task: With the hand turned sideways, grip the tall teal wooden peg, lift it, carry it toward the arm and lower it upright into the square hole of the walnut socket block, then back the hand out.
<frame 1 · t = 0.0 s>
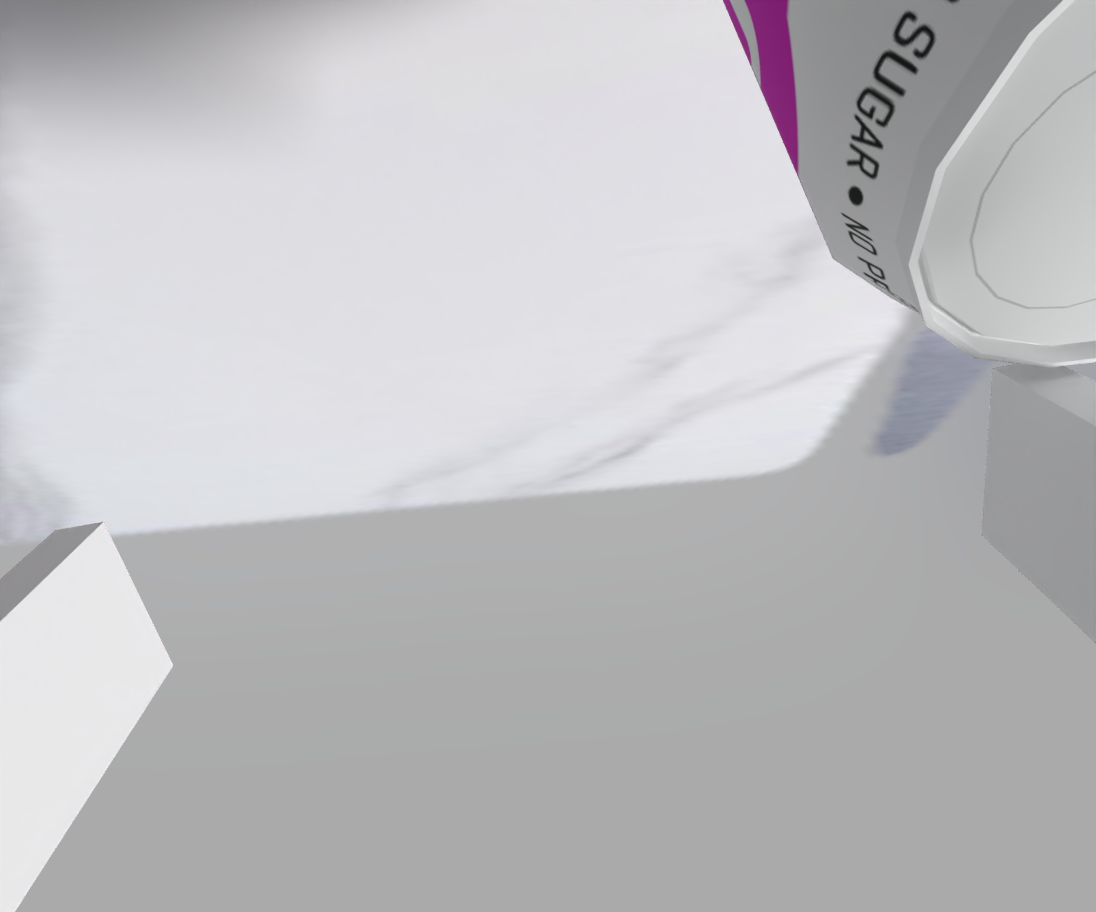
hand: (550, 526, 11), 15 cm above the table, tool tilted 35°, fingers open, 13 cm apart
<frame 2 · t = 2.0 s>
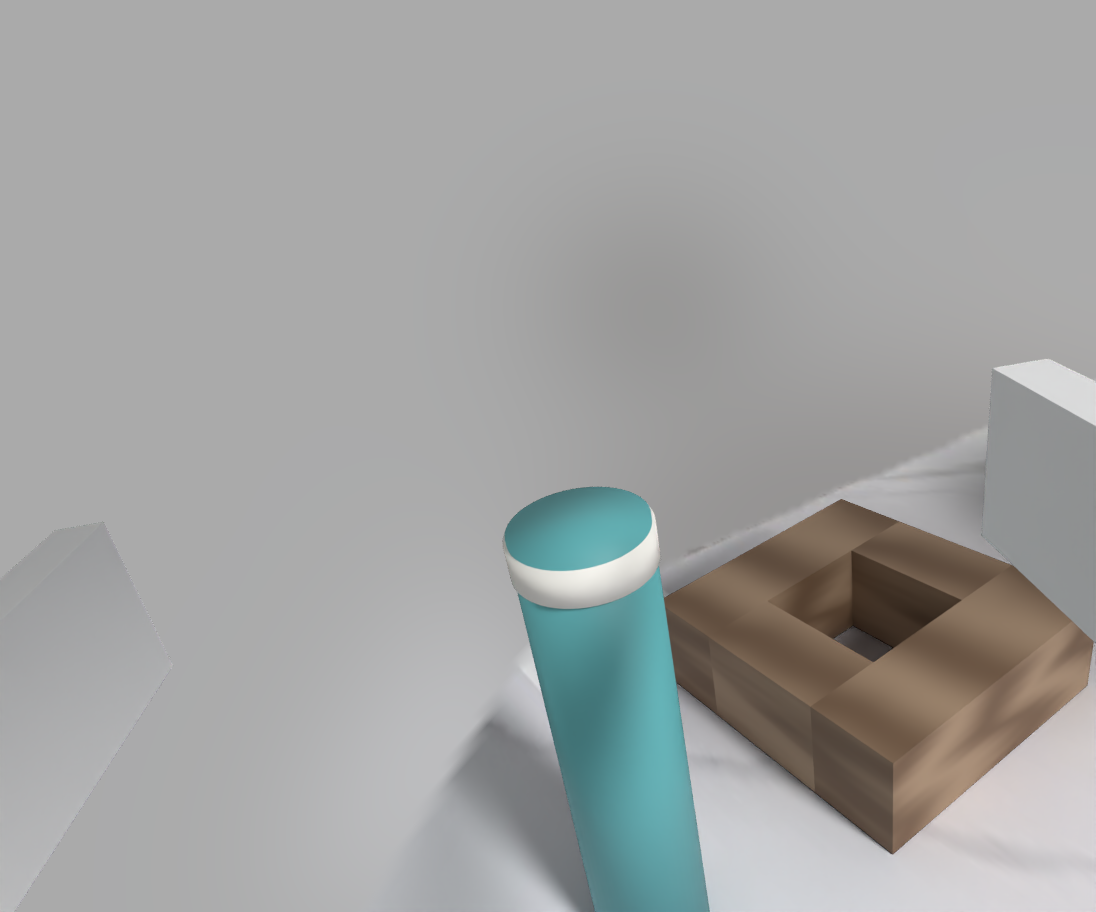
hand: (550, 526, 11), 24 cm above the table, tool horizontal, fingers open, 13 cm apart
socket block: (862, 680, 39), on the table
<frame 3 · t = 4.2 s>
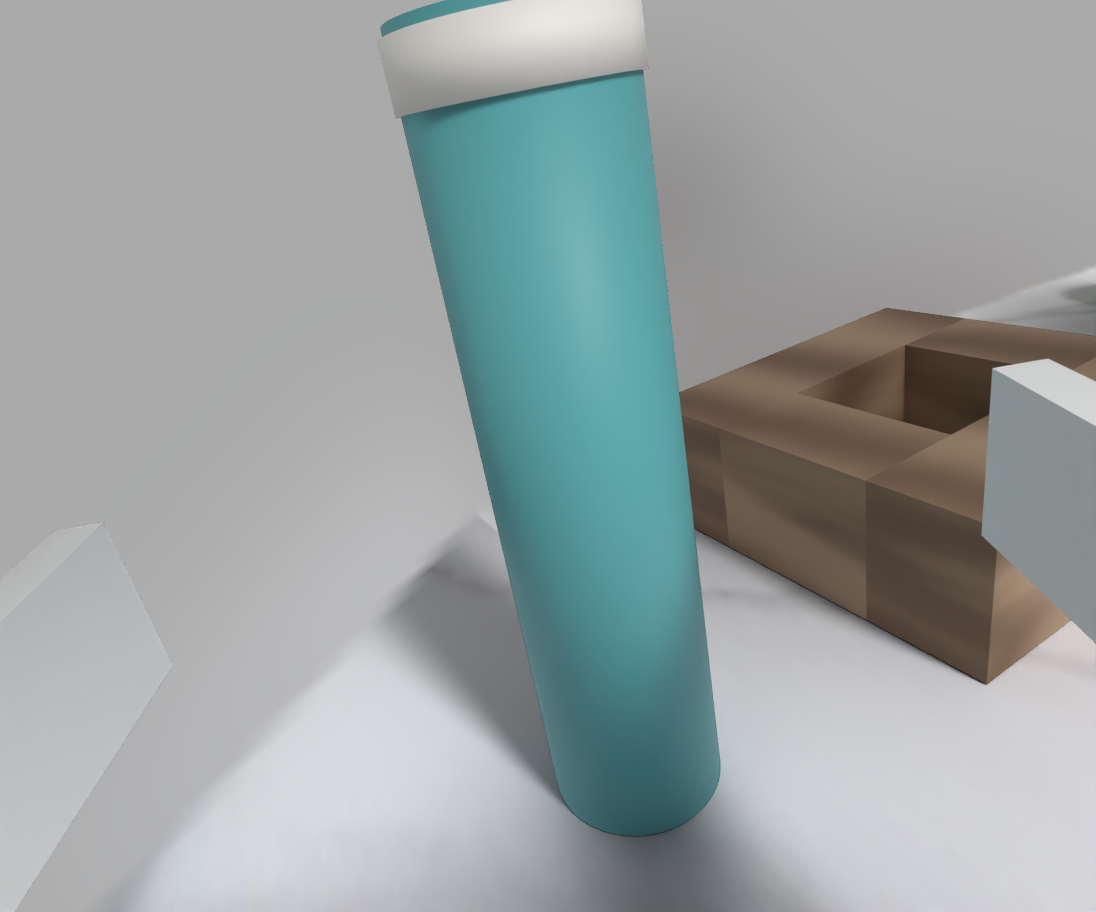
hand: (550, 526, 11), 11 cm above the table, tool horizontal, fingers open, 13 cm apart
socket block: (921, 504, 29), on the table
peg: (637, 764, 21), on the table
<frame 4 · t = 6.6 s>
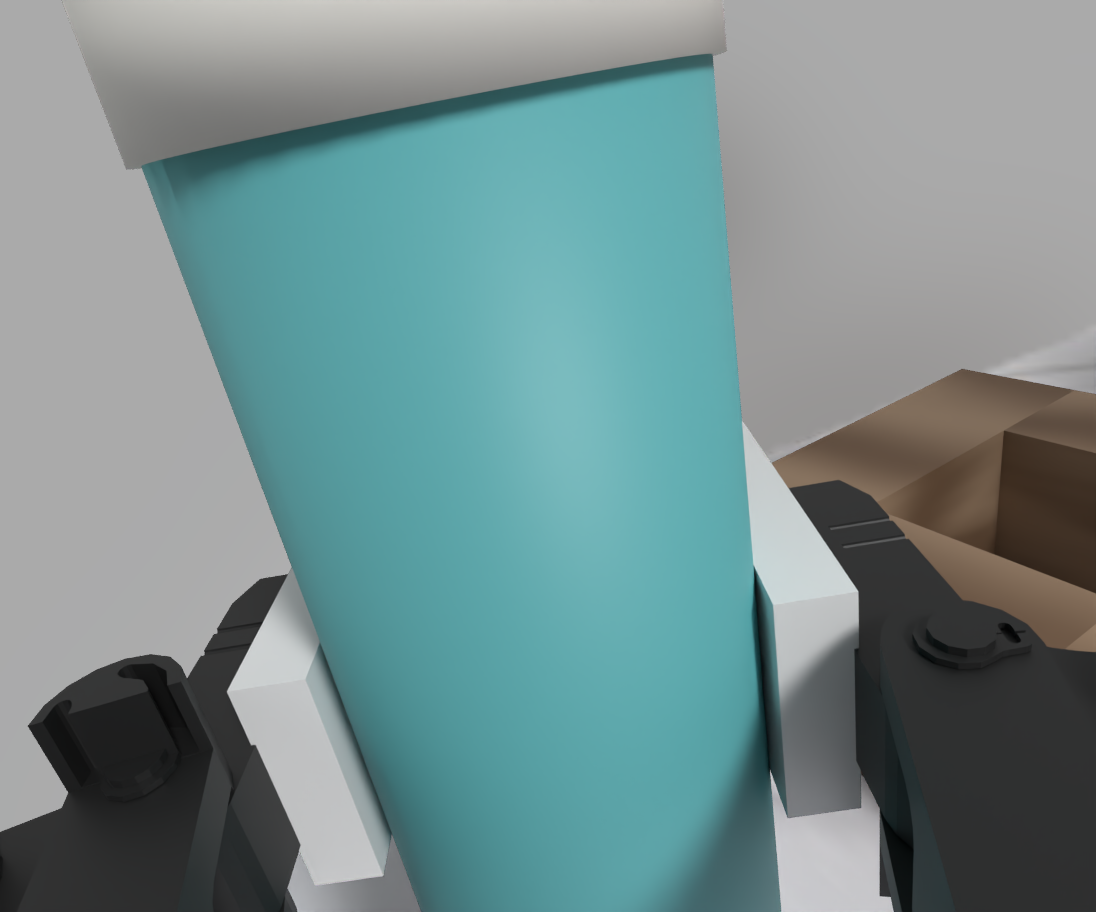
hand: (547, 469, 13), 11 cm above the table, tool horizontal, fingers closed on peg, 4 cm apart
socket block: (1035, 652, 22), on the table
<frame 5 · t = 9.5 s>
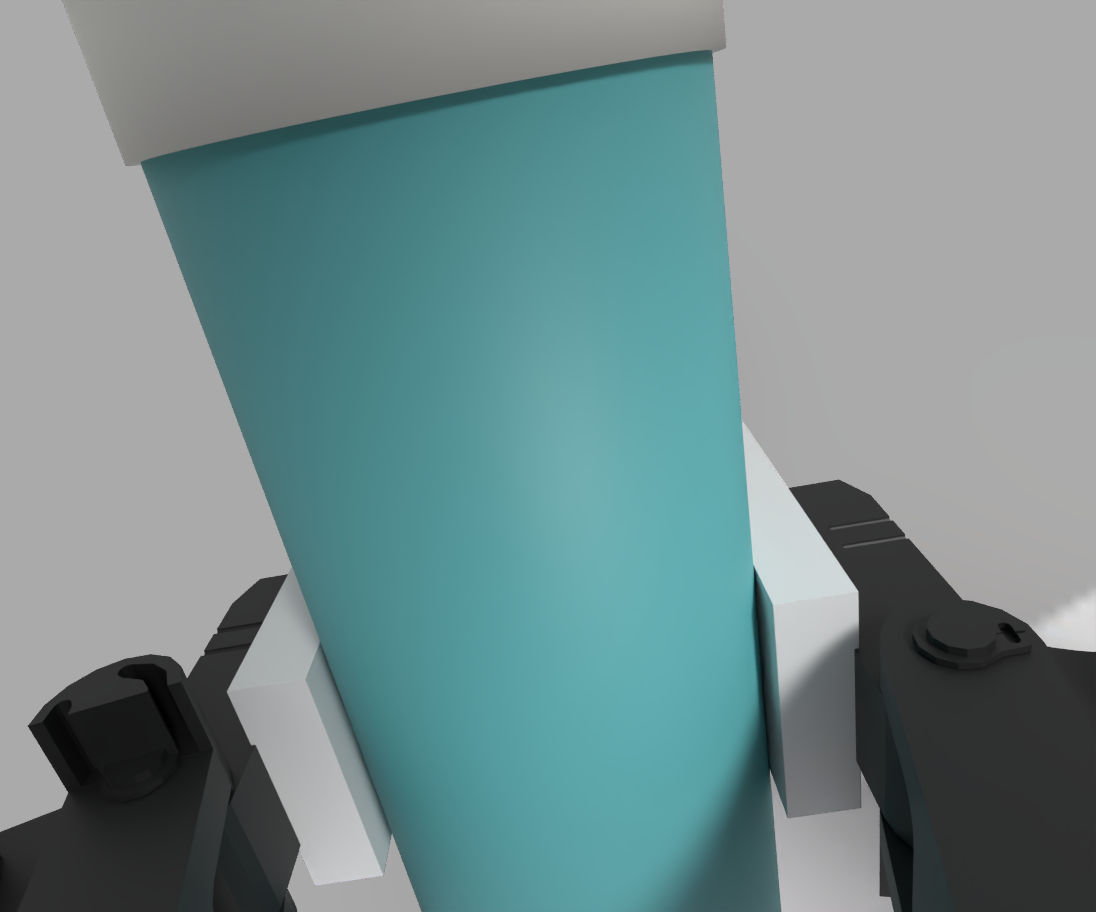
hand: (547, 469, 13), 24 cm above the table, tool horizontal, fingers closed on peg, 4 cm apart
when the fingers open (12 cm above the table, at t = 12.3 s): peg drops 1 cm, resting in socket block.
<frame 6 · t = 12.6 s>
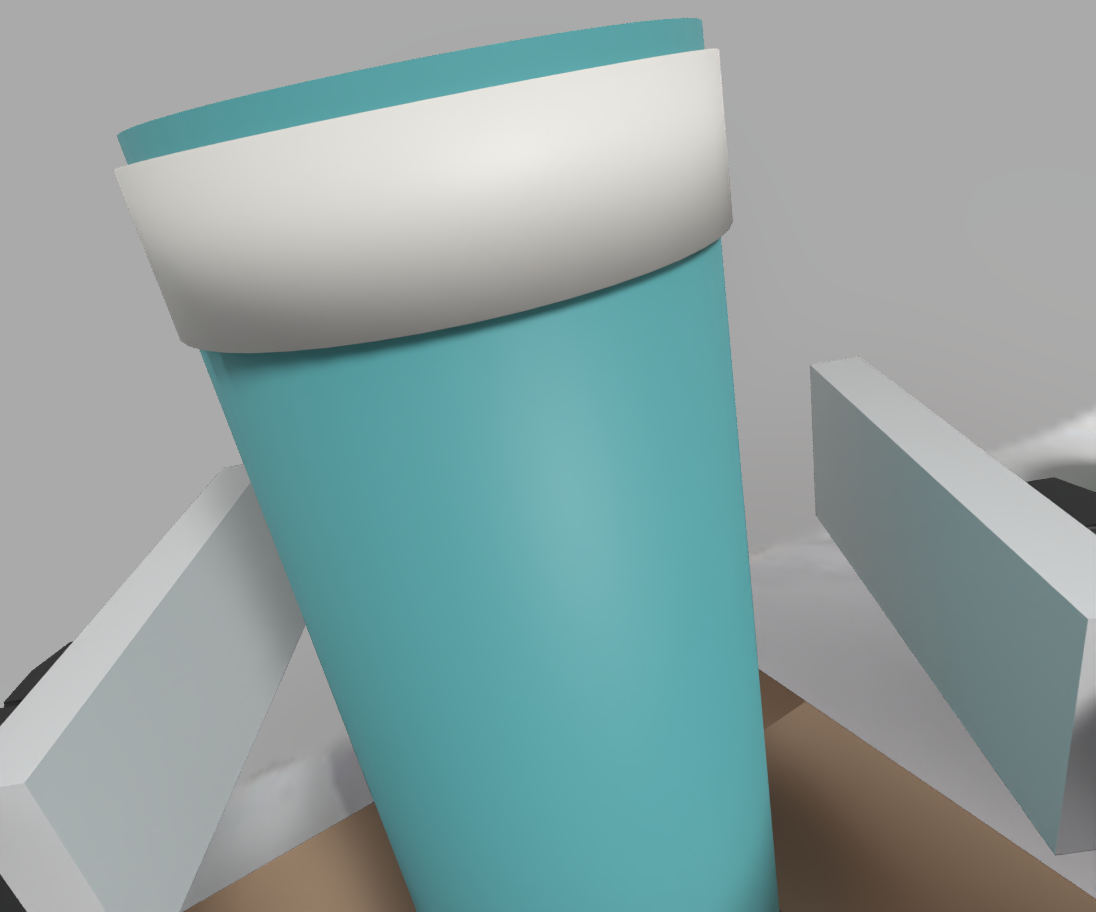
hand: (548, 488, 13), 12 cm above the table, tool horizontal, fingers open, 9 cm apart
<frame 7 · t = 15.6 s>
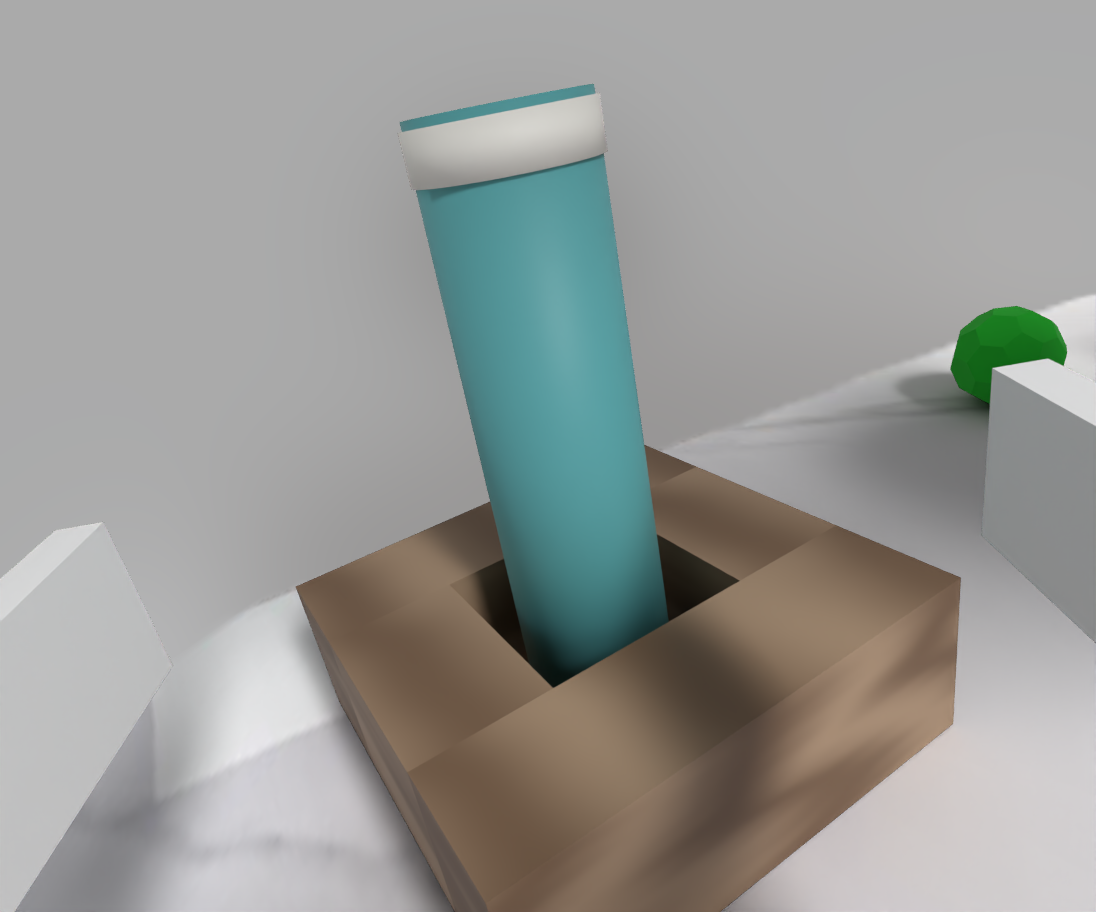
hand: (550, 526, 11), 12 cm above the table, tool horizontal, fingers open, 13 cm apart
socket block: (611, 711, 24), on the table
peg: (611, 712, 24), resting in socket block
polyhedron: (1003, 405, 39), on the table
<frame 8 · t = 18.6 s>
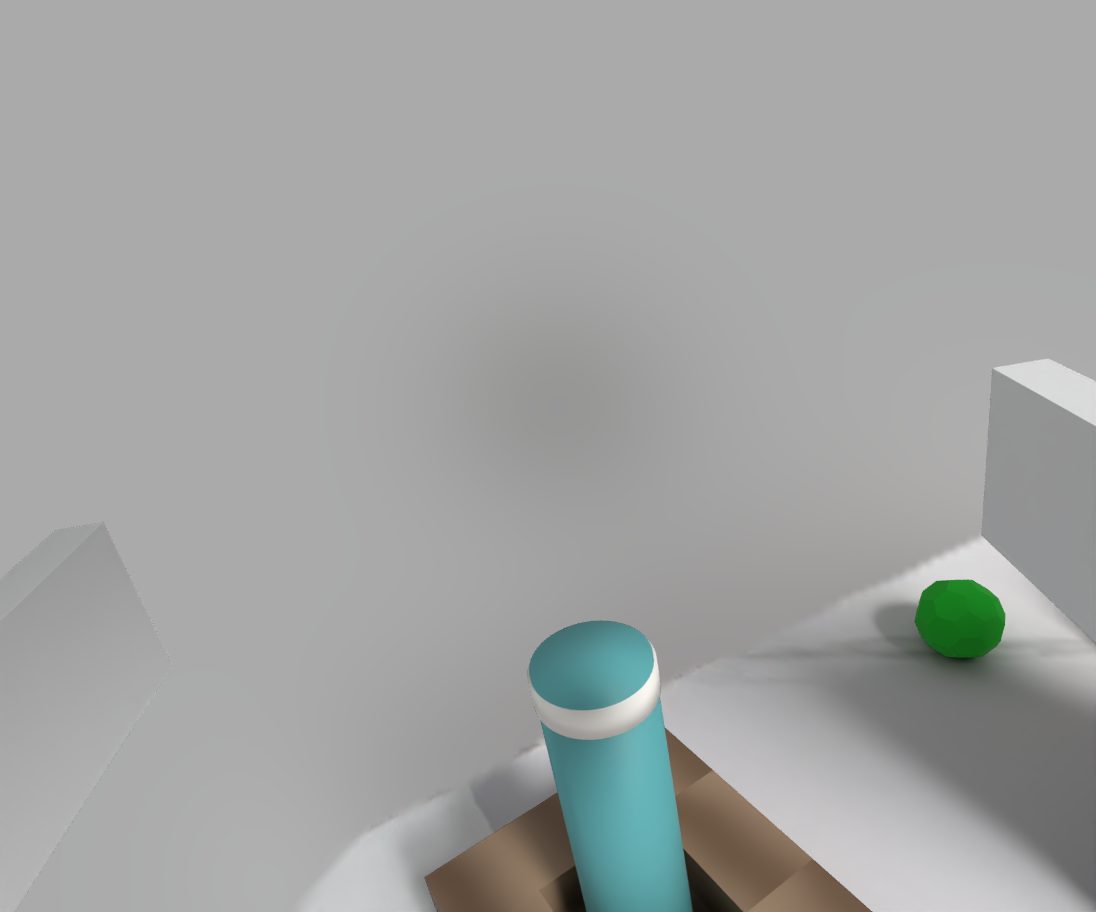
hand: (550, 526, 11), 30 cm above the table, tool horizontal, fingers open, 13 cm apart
polyhedron: (957, 650, 49), on the table
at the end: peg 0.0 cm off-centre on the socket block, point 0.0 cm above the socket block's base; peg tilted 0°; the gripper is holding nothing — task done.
